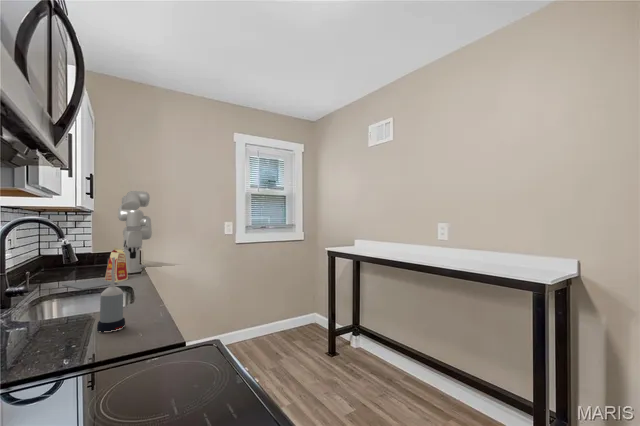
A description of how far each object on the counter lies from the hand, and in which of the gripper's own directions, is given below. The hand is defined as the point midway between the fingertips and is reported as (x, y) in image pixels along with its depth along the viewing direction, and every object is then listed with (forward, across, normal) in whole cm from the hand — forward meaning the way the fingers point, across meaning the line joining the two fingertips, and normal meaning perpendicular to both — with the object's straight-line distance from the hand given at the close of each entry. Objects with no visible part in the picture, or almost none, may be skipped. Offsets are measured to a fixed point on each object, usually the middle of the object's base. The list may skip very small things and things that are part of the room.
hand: (132, 258), depth 198 cm
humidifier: (+13, +60, +79) cm, 100 cm away
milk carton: (+12, +10, 0) cm, 16 cm away
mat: (+12, +24, 0) cm, 27 cm away
